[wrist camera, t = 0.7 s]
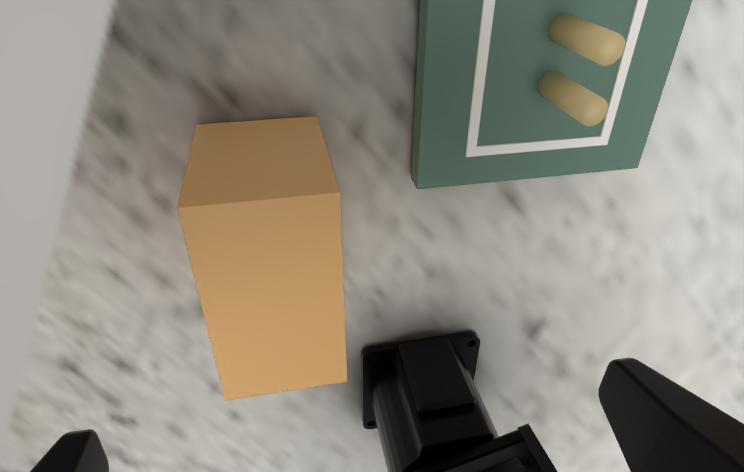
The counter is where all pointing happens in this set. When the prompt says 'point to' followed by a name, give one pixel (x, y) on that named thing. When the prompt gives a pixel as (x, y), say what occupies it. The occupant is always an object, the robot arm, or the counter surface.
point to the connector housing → (267, 253)
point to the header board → (537, 86)
